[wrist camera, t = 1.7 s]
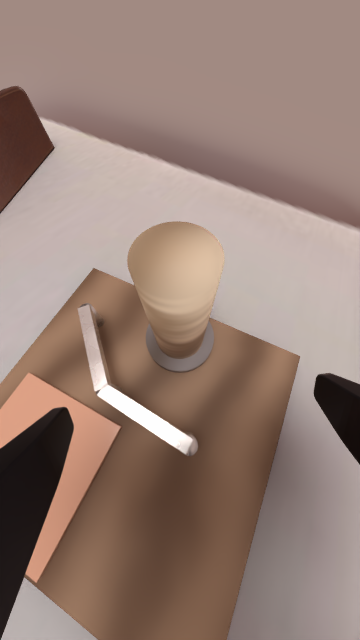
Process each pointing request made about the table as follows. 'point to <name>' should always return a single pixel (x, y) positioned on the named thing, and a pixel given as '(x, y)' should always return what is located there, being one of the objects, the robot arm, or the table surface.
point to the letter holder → (19, 142)
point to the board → (161, 472)
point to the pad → (81, 461)
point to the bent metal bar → (114, 393)
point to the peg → (177, 291)
